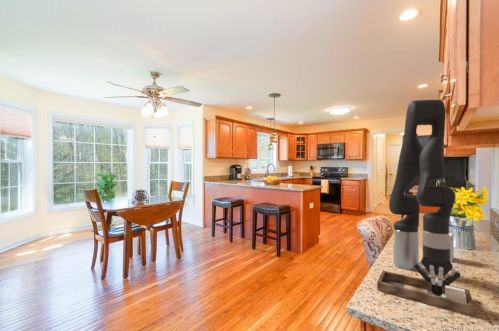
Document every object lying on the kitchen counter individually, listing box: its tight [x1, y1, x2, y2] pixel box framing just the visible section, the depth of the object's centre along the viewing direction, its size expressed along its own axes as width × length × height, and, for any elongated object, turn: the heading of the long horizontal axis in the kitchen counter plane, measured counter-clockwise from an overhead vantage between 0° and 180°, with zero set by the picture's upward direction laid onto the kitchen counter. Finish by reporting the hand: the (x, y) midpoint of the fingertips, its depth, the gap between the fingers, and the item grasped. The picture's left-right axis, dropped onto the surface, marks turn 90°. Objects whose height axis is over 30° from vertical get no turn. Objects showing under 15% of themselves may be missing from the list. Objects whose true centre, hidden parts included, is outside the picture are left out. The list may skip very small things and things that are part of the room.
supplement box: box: [449, 232, 454, 263], centre depth 119 cm, size 7×7×13 cm
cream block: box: [445, 285, 466, 303], centre depth 79 cm, size 5×5×4 cm
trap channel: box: [376, 270, 475, 317], centre depth 85 cm, size 26×12×4 cm, turn 52°
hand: (436, 295), depth 82 cm, fingers closed
